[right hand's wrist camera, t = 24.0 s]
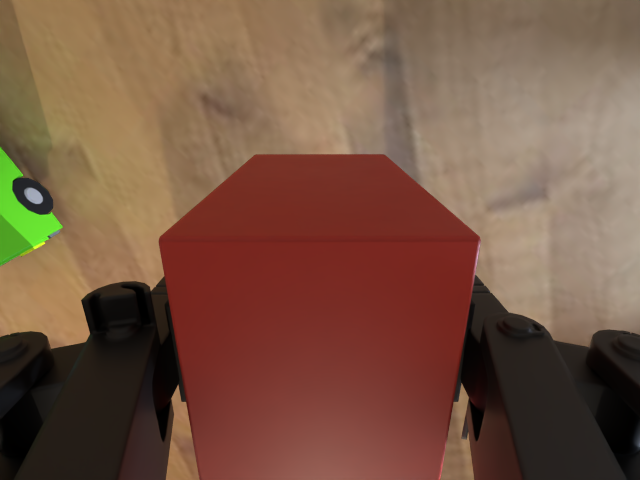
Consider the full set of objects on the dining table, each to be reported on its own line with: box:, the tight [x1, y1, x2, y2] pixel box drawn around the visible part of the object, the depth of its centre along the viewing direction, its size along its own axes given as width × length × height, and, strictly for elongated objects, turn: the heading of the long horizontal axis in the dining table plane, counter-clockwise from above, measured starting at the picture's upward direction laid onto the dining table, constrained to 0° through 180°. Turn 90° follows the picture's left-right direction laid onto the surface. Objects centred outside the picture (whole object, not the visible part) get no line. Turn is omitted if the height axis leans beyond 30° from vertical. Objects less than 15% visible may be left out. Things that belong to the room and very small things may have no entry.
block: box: [159, 154, 481, 480], centre depth 11 cm, size 5×7×9 cm
